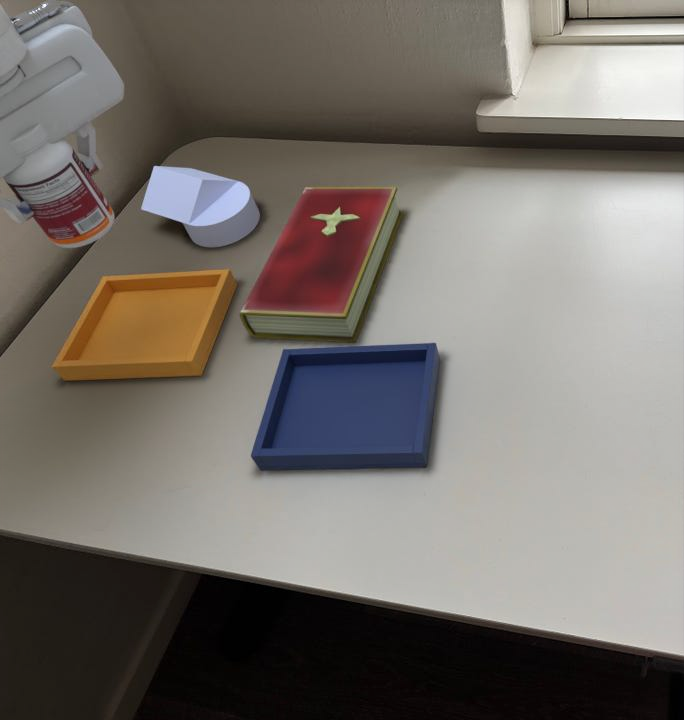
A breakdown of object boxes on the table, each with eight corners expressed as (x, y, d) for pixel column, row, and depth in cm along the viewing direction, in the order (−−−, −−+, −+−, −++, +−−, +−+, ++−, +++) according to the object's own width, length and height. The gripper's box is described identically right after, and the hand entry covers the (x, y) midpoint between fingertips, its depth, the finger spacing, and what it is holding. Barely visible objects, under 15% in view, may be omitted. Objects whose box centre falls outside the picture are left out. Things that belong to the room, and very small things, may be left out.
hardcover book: (250, 337, 77) (235, 310, 74) (312, 212, 90) (301, 184, 87) (355, 342, 74) (344, 314, 71) (403, 213, 87) (396, 184, 84)
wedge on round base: (153, 230, 92) (226, 254, 87) (127, 186, 87) (203, 210, 82) (201, 189, 96) (273, 210, 91) (179, 146, 91) (254, 165, 86)
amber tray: (64, 381, 76) (51, 366, 74) (113, 290, 85) (102, 276, 83) (201, 375, 74) (191, 360, 72) (237, 284, 83) (229, 268, 81)
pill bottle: (64, 213, 71) (-8, 113, 62) (124, 204, 70) (60, 102, 62) (43, 255, 67) (-37, 153, 58) (107, 246, 66) (36, 142, 58)
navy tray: (259, 470, 66) (250, 456, 64) (290, 364, 74) (283, 349, 72) (426, 467, 63) (421, 452, 62) (440, 358, 72) (436, 342, 70)
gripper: (47, -16, 61) (128, 127, 72) (-192, 106, 51) (-58, 251, 62) (90, -7, 59) (168, 141, 69) (-154, 124, 49) (-20, 273, 59)
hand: (59, 194), depth 65 cm, fingers closed on pill bottle, 6 cm apart
